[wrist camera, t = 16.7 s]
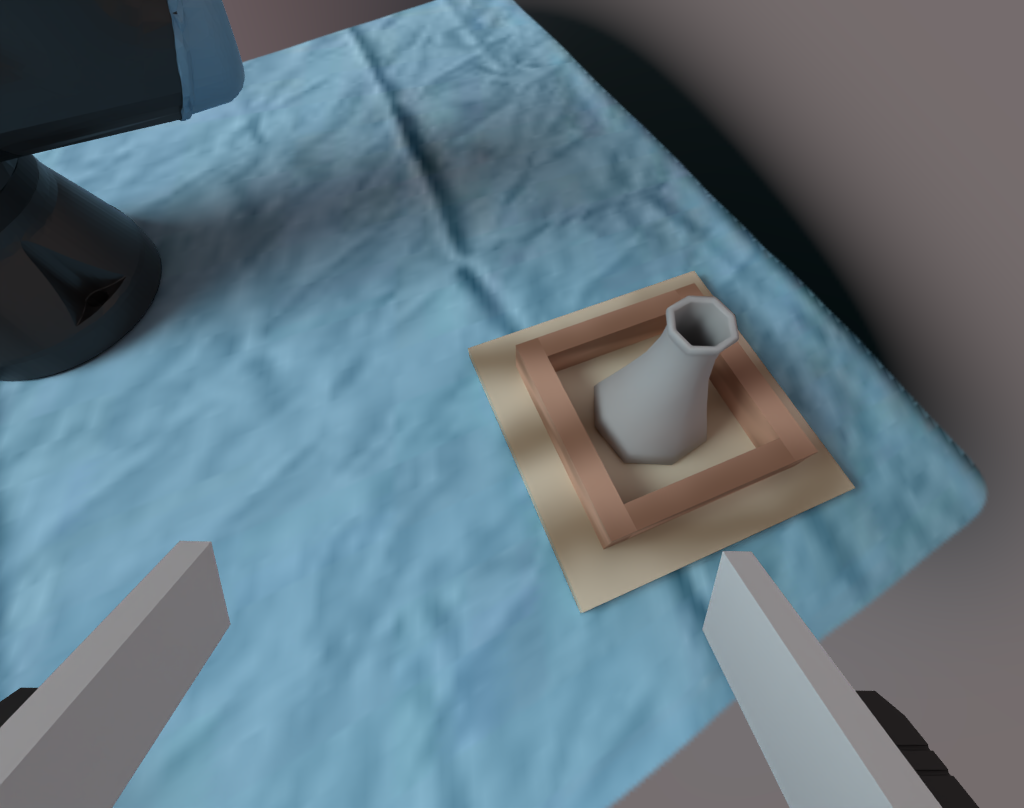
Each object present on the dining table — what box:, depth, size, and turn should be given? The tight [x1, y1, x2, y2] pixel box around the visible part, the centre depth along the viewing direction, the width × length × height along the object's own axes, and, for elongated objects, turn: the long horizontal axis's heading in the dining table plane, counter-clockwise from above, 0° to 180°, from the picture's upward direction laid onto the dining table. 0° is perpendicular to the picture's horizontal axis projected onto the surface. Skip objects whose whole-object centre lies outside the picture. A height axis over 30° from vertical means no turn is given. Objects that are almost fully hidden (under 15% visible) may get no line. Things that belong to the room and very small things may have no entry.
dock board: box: [468, 271, 855, 613], centre depth 30 cm, size 18×18×4 cm
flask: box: [594, 296, 739, 465], centre depth 26 cm, size 7×7×10 cm
